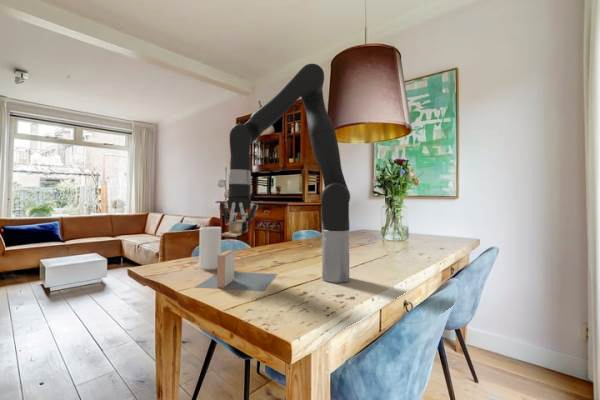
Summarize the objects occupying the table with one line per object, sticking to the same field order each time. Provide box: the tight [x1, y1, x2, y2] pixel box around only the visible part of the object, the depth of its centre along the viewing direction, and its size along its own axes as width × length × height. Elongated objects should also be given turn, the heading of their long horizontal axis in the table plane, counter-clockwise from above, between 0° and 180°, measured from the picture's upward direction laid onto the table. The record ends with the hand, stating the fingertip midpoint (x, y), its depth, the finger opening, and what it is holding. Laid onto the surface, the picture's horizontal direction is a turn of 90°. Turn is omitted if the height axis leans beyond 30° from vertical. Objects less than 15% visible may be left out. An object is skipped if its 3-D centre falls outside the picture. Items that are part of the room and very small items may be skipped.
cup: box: [198, 226, 222, 270], centre depth 112 cm, size 8×8×16 cm
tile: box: [216, 250, 235, 288], centre depth 90 cm, size 2×8×10 cm, turn 172°
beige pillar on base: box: [221, 219, 249, 238], centre depth 96 cm, size 5×14×4 cm, turn 172°
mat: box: [194, 271, 278, 292], centre depth 94 cm, size 22×19×1 cm
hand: (238, 232), depth 98 cm, fingers closed on beige pillar on base, 3 cm apart
